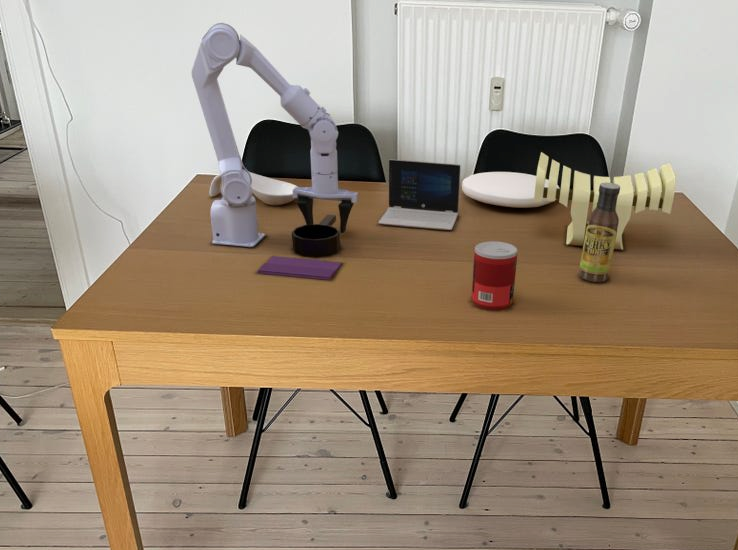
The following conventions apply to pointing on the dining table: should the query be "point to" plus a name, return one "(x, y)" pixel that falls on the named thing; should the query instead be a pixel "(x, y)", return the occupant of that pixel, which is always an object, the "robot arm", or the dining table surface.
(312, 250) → the pan
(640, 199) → the slatted curved stool
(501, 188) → the plate
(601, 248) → the sauce bottle
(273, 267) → the rag
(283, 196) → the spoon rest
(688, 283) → the dining table surface
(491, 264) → the canned food
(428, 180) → the laptop
